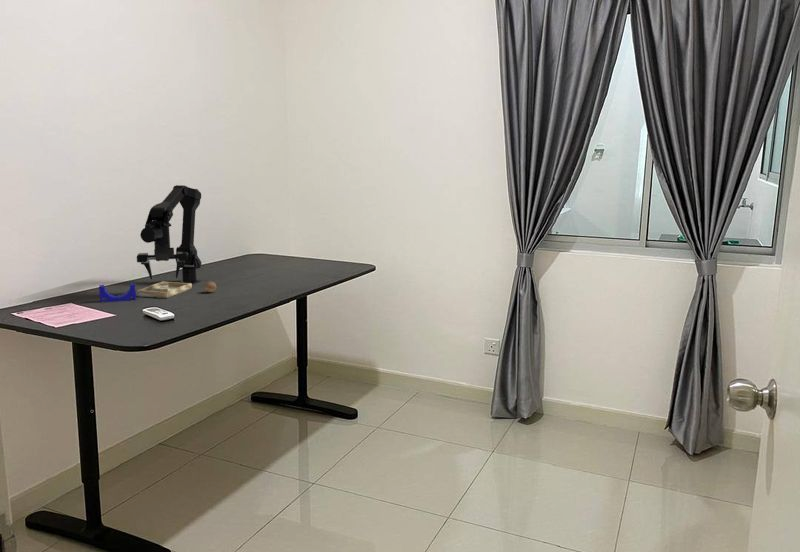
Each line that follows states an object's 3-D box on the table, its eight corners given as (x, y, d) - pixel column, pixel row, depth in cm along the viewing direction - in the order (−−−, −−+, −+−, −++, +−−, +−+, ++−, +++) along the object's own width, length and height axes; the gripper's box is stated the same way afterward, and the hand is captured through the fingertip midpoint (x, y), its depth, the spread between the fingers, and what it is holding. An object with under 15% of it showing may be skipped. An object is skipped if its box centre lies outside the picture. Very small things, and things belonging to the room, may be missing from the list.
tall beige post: (161, 282, 256) (159, 288, 244) (168, 281, 257) (167, 288, 245) (161, 288, 256) (160, 295, 244) (168, 288, 257) (167, 295, 245)
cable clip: (135, 298, 243) (134, 282, 242) (135, 300, 239) (134, 285, 238) (101, 300, 239) (100, 284, 238) (100, 302, 235) (99, 286, 234)
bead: (208, 290, 257) (207, 280, 256) (218, 291, 256) (218, 280, 255) (202, 293, 252) (202, 282, 251) (213, 293, 251) (212, 282, 251)
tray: (162, 286, 262) (162, 281, 262) (191, 288, 260) (191, 283, 259) (136, 296, 245) (136, 290, 245) (167, 298, 243) (166, 292, 242)
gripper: (134, 242, 238) (137, 283, 241) (187, 241, 244) (189, 281, 247) (136, 238, 248) (139, 278, 251) (187, 237, 254) (189, 276, 257)
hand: (164, 278), depth 251 cm, fingers open, 9 cm apart
